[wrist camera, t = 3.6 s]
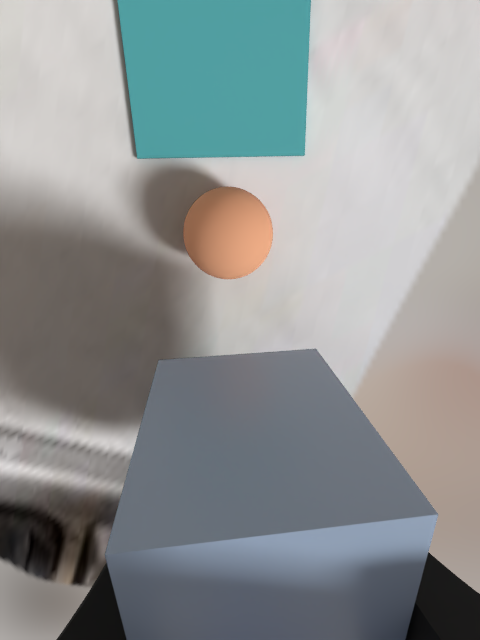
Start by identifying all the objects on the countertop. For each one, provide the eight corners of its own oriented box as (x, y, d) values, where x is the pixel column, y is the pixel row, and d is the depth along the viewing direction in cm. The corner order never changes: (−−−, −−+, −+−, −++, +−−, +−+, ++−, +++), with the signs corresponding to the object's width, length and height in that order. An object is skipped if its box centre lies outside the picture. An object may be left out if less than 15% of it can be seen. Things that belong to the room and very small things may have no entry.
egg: (264, 267, 16) (280, 286, 12) (188, 271, 15) (185, 291, 12) (264, 186, 14) (283, 183, 11) (182, 188, 14) (175, 186, 11)
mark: (303, 155, 14) (304, 155, 14) (138, 158, 14) (137, 157, 13) (311, -64, 12) (313, -68, 11) (109, -72, 11) (107, -77, 11)
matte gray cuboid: (304, 525, 15) (375, 753, 9) (182, 540, 14) (165, 792, 8) (316, 348, 12) (438, 515, 6) (158, 359, 11) (104, 554, 5)
